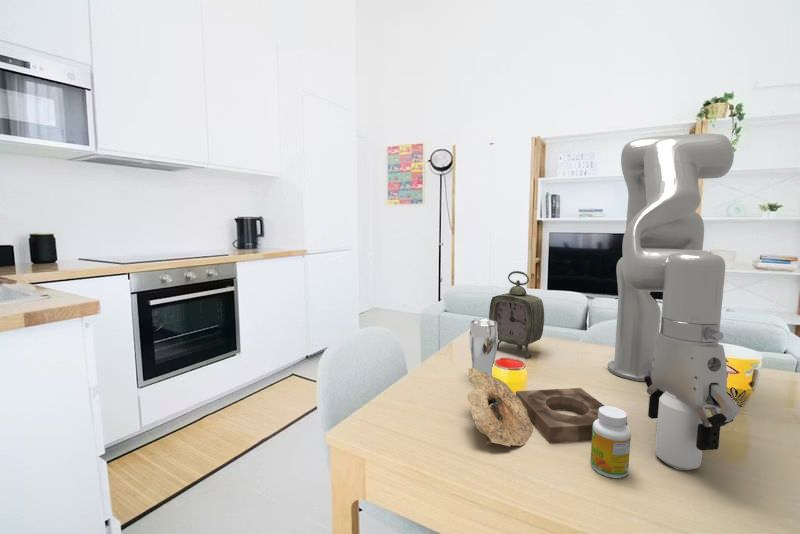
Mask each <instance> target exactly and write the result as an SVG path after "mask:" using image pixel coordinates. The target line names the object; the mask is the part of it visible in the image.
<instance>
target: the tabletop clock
mask: <svg viewBox="0 0 800 534" xmlns="http://www.w3.org/2000/svg"><path fill="white" fill-rule="evenodd" d="M514 274H518V275H519V274H520V275H523V276H525V277H526V281H525V282H520V280H516V282H515V281H512V280H511V279H510V278H511V276H512V275H514ZM507 279H508V281H509V282H510V283H511V284H512V285H514V286H512V287H511V288H510V289H509V292H507V293H503V294H498V295H495V296H492V298H491V300H490V303H489V313H488V320H493V321H496V322H497V323H498V346H497V350H498V349H499V348H500V344H501V343H502V342H503V343H506V344H509V345H514V346H516V349H517V350H518V349H519V350H518V351H521V350H523V346H524V348H525V351H526V352H525V353H524V356H525V358H530V357H531V356H532V354H531V352H530V351H529V345H531V344H533V343H536V342H538V341H540V340H541V339H542V336H543V332H544V326H545V309H544V302H543V300H542V299H541V298H539V297H538V296H535V295H532V294H527V291H526V288H525V287H524V286H526V285H527V284H528V283H530V282H529V281H530V277H529V275H528V274H527V273H526V272H524V271H519V270H515V271H511V272H510V273H509V274H508V276H507Z"/></svg>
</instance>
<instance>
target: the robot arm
mask: <svg viewBox="0 0 800 534" xmlns="http://www.w3.org/2000/svg"><path fill="white" fill-rule="evenodd" d="M734 153H735V150H734V147H733V144H732V141H731V140H730V139H729V138H728V137H727V136H726V135H724V134H720V133H707V132H706V133H692V134H691V133H689V134H675V135H659V136H658V135H657V136H649V137H641V138H637V139H633V140H631V141H628V142H627V143H626V144H624V146H623V147H622V151H621V154H620V155H621V156H620V164H621V166H620V167H621V171H622V175H623V178H624V181H625V185H626V189H627V192H628V193H627V194H628V198H627V212H626V224H625V231H624V234H623V238H622V246H621V247H622V250H621V251H622V257H620V259H618V261H617V263H616V269H615V270H616V281H617V282H616V283H617V293H618V294H617V296H618V297H617V299H618V300H617V314H616V315H617V316H616V326H615V327H616V329H615V331H616V332H615V343H614V344H615V346H614V360H611V361H609V362H608V363H607V366H606V367H607V370H608V371H609V372H610V373H611V374H613V375H616V376H617V377H620V378H625V379H628V380H631V381H632V380H633V381H637V382H638V381H639V382H644V383H645V385H646V387H647V389H646V394H648V395H649V399H648V412H647V413H648V414H647V416H648V418H650V419H651V420H652V419H653V420H655V419H658V409H659V398H660V397H661V395H662V394H663V393H664V392H665V391H667V392H668V393H669V394H671V395H674V396H675V397H676V398H677V399H678V400H680V401H681V402H683V403H685V404H687V405H689V406H691V407H693V408H695V409H696V411H697V413H698V415H699V417H700V419H701V421H702V423H703V424H698V430H697V441H696V447H697V448H698V449H699V450H701V451H702V452H704V451H717V450H718V449H719V446H720V436H721V435H720V434H721V427H726V426H727V424H730V423H732V422H733V421H734V419H735V418H736V416H737V415H738V414H740V412H741V407H740V406H739V405H738V404H737V403H736V402H735V401H734V400H733V399H732V398H731V397H730V396H729V394H728V393H727V392H728V374H727V373H728V372H727V371H728V367H727V359H726V352H725V348H724V345H722V344H719V341H722V340H723V339H724V333H723V332H721V329H720V328H721V322H722V321H721V319H722V308H723V298H724V288H725V287H724V286H725V276H726V260H725V259H724V258H723V257H722V256H720V255H718V254H714V253H712V252H711V251H708V250H704V248H703V247H704V241H705V240H704V239H705V224H704V220H703V217H702V215H700V214H699V213H698V212H696V210H697V209H698V208H699V207H700V206H701V202H702V201H701V200H702V198H701V191H700V186H699V185H700V184H699V180H700V179H701V180H702V179H704V180H705V179H719V178H723V177H725V176H726V175H727V173H729V172H730V170H731V168H732V166H733V164H734V158H735V154H734ZM652 292H653V293H654V292H655V293H656V292H657V293H658V292H661V293H662V304H661V307H660V305H659V304H658V302H657V301H656V300H655V299H654V297H652V295H651V293H652ZM704 402H705V403H704ZM703 403H704V404H703ZM720 408H721V409H720ZM707 410H709V413H710V415H711V416H709V414H708V411H707Z"/></svg>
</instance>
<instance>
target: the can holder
mask: <svg viewBox="0 0 800 534" xmlns="http://www.w3.org/2000/svg"><path fill="white" fill-rule="evenodd" d="M515 395H516V396H517V397H518V398H519V399H520V400H521V402H522V403H523V405H524V406H525V407H526V409H527V413H528V417H529V419H530V422H531V425H532V426H534V427H535V429H537V431H538V432H539V433H540V434H541V435H542V437H543V438H544V439H545V440H546V441H547V442H548V443H549V444H555V443H557V444H558V443H559V444H560V443H570V442H572V443H573V442H585V441H586V442H587V441H592V429H593V423H594V421H595V420H597V419H599V418H598V410H599V408H600V407H602V406H605V405H604V404H603V403H601V401H599V400H597V399H596V398H595V397H594V396H592V395H591V394H590V393H588V392H587V391H585V390H584V389H583V388H582V387H571V388H553V389H551V388H550V389H534V390H516V391H515ZM559 411H565V412H571V413H574V414H576V415H571V414H565V413H561V412H559ZM626 426H627V427H628V422H626Z"/></svg>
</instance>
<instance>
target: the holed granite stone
mask: <svg viewBox="0 0 800 534" xmlns="http://www.w3.org/2000/svg"><path fill="white" fill-rule="evenodd" d="M467 374H468V375H467V377H468V378H469V380H470V381H471V380H472V381H471V382H472V384H473V387H474V388H473V389H472V390H471V391H470V392H469V393H468V394H467V396H466V398H467V402H468V404H470V406H471V412H470V413H471V419H472V420H474V424H475V427H476V429H477V430H478V431H479V432H480V433H481V434H483V435H484V436H485V437H486V439H488V440H489V441H487V442H486V443H485V444H486V445H490V444H492V443H494V444H499V445H503V446H507V447H510V448H511V445H512V446H518V447H521V446H524V445H526V444H527V442H528V441H529V440H530V438H531V437H532V435H533V433H534V428H533V424H532V423H531V421H530V419H529V417H528V413H527V409H526V407H525V406H524V405H523V403H522V402H521V400H520V399H519V398H518V397H517V396H516V393H515V392H514V391H512V389H511V388H510V386H508V385H507V384H506V383H505V382H503V381H502V380H501V379H499V378H497V377H493V376H491V375H488V374H485V373H482V372H480V371H478V370H476V369H474V368H472V367H470V368H468V371H467Z"/></svg>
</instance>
